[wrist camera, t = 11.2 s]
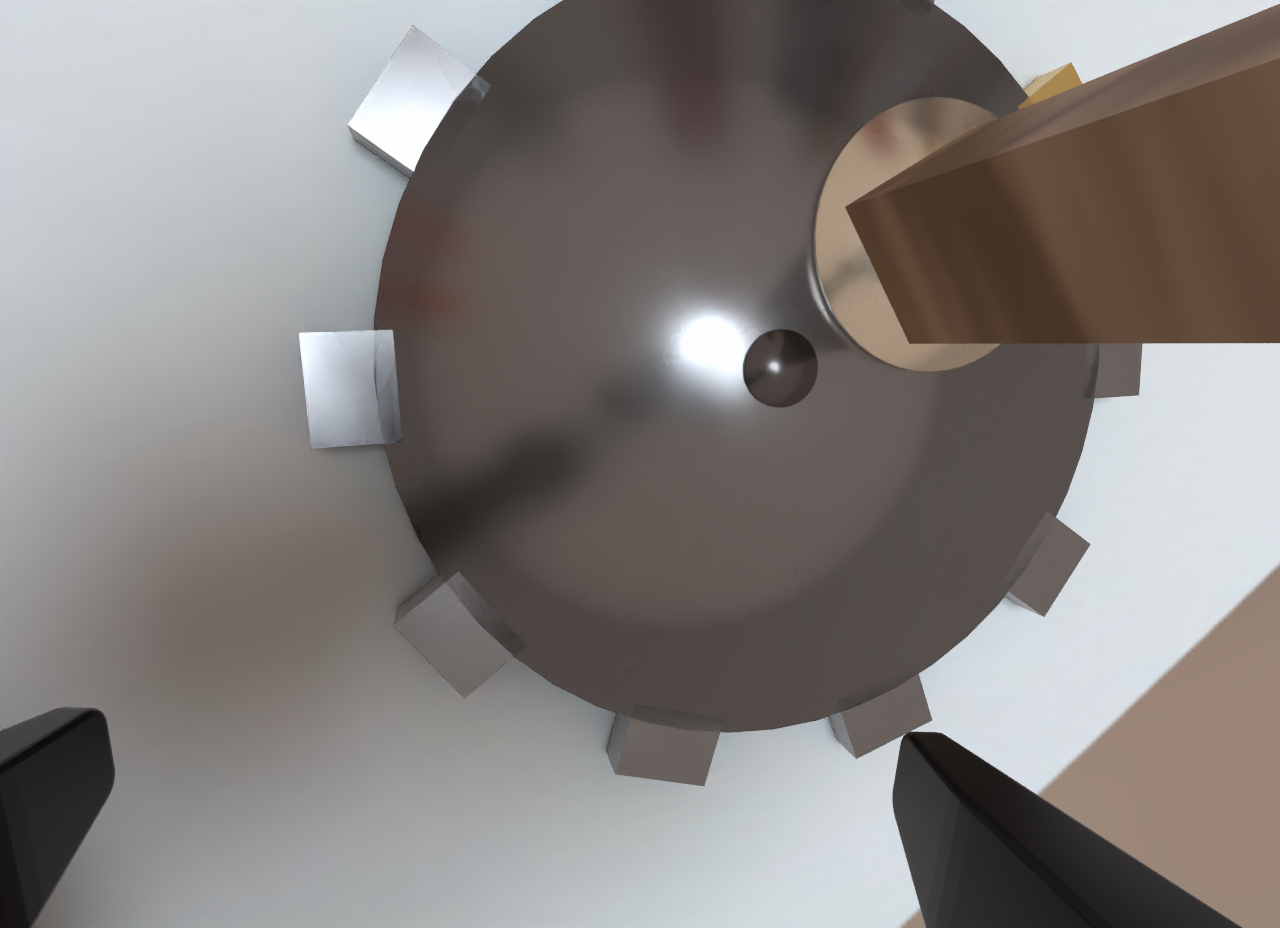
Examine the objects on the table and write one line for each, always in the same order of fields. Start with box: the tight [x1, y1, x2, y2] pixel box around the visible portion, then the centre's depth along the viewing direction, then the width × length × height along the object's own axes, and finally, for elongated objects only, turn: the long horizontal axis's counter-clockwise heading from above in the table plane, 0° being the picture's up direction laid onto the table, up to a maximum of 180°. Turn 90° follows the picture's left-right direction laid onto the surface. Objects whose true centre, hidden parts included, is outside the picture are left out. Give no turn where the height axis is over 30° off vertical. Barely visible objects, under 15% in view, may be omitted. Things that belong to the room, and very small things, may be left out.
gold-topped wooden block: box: [845, 4, 1280, 344], centre depth 14 cm, size 4×4×13 cm
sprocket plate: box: [299, 0, 1142, 786], centre depth 21 cm, size 23×23×1 cm
